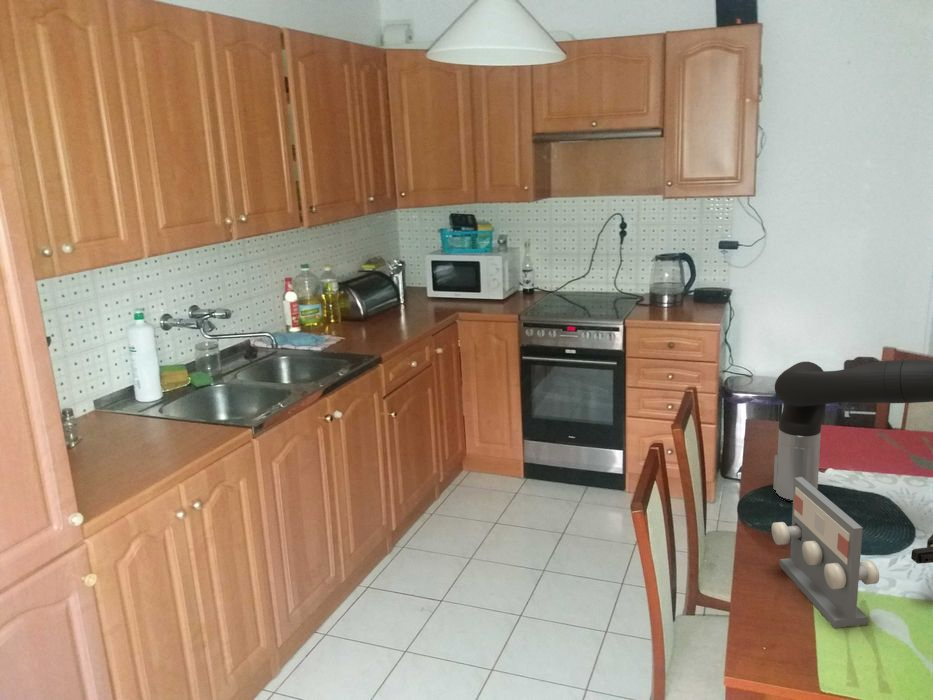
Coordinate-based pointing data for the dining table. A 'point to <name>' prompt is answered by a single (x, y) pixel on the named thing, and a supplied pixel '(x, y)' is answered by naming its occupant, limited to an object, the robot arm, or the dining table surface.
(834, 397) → the robot arm
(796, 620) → the dining table surface
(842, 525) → the grey panel with knobs
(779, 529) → the pin
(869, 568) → the pin
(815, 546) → the middle pin
